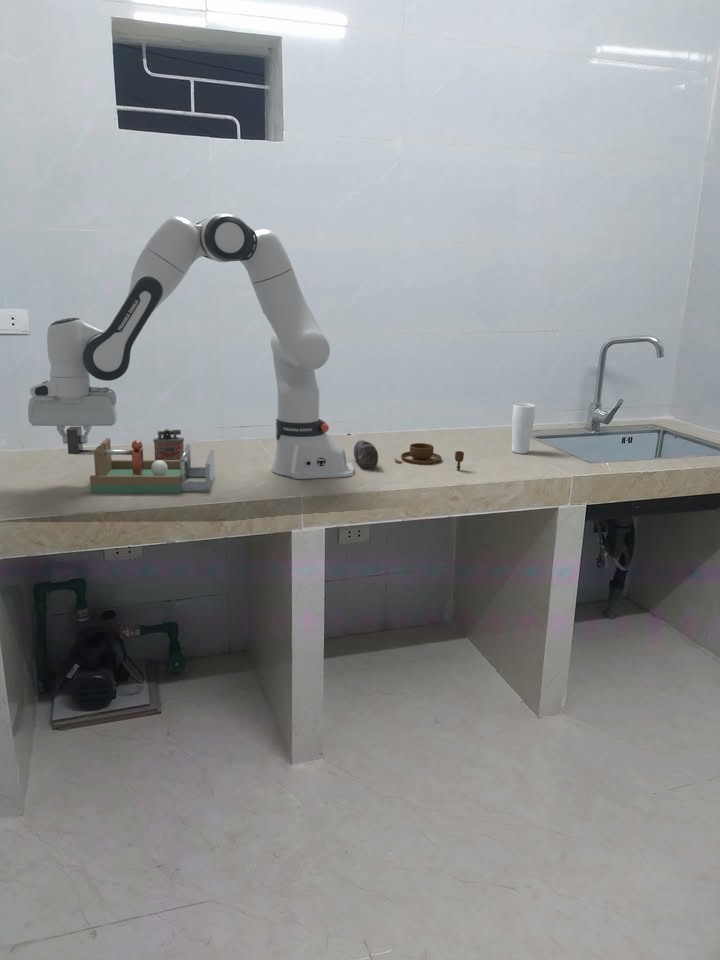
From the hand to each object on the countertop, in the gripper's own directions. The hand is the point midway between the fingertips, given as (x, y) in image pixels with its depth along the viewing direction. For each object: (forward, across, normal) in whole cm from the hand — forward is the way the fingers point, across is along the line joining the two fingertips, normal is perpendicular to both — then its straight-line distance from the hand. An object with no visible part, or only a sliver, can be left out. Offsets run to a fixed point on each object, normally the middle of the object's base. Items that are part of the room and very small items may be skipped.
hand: (75, 443), depth 182 cm
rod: (+7, -7, 0) cm, 10 cm away
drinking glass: (+12, -125, -35) cm, 130 cm away
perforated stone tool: (+11, -74, -20) cm, 77 cm away
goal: (+10, -29, 0) cm, 31 cm away
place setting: (+12, -92, -21) cm, 95 cm away
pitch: (+10, -15, 0) cm, 19 cm away
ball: (+6, -20, 0) cm, 21 cm away
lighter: (+11, -20, -18) cm, 29 cm away
